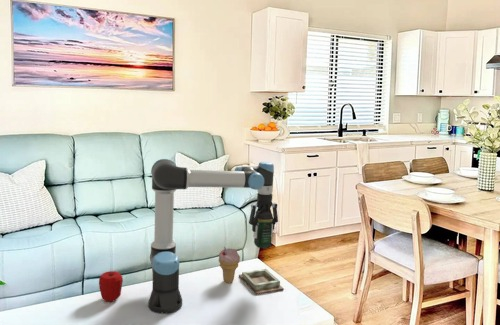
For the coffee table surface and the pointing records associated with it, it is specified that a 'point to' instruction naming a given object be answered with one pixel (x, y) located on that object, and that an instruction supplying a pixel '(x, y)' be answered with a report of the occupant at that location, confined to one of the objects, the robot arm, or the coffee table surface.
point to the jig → (261, 281)
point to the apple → (110, 285)
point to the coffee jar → (264, 230)
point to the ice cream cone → (229, 263)
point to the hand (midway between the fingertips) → (262, 236)
